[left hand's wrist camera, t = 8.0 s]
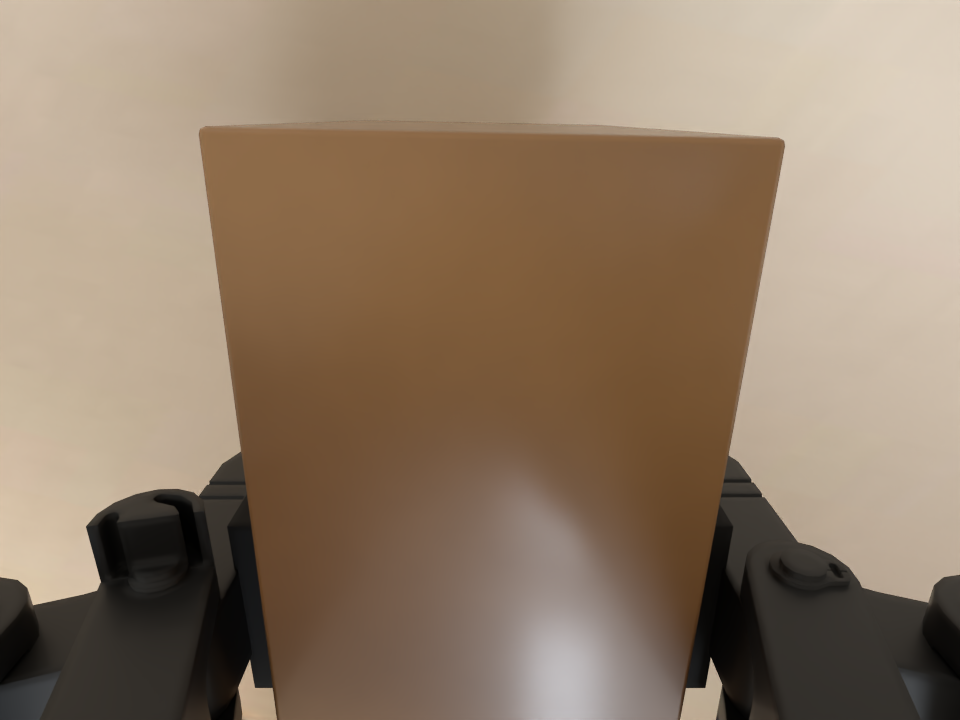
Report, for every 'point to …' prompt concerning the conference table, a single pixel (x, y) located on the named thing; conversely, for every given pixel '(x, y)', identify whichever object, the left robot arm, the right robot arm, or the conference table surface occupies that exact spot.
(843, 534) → the conference table surface
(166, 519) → the left robot arm
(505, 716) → the beam
